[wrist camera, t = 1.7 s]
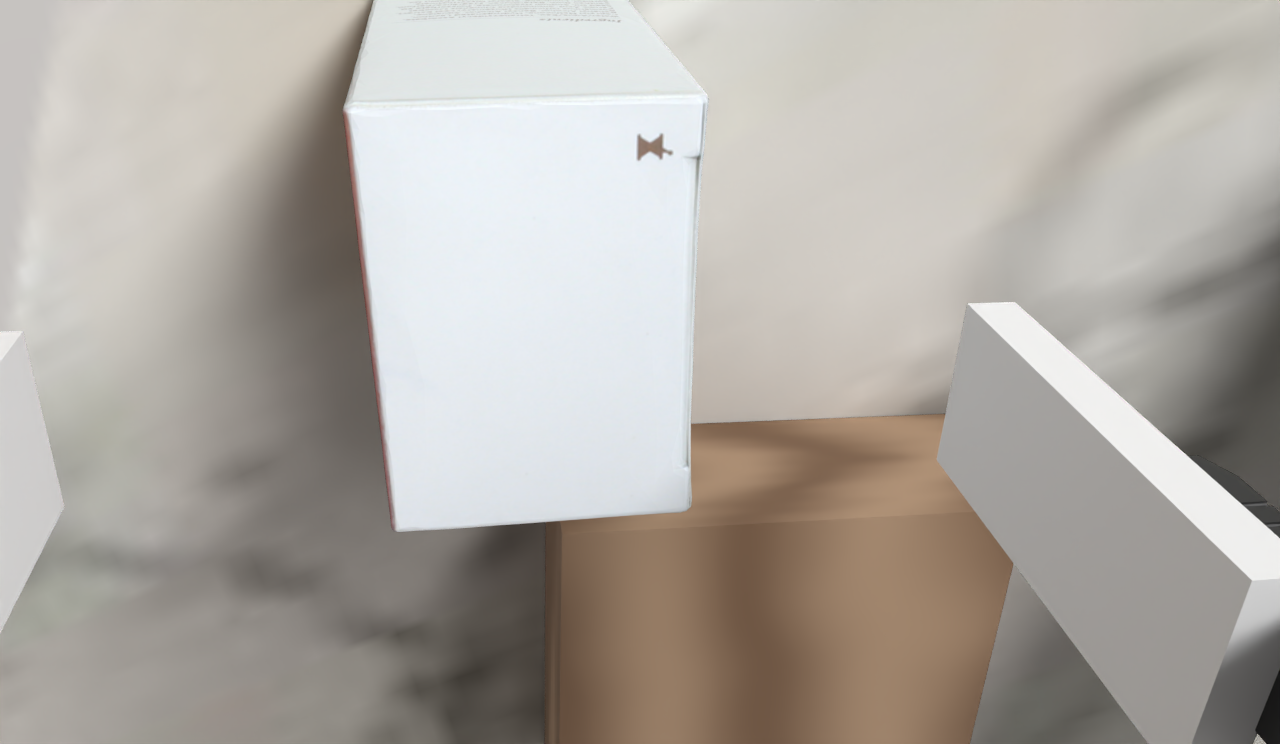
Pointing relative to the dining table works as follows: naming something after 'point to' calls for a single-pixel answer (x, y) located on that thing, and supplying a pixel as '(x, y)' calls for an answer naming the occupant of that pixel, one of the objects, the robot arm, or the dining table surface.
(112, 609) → the dining table surface
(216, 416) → the dining table surface
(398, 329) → the small box
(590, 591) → the walnut block
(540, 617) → the dining table surface
